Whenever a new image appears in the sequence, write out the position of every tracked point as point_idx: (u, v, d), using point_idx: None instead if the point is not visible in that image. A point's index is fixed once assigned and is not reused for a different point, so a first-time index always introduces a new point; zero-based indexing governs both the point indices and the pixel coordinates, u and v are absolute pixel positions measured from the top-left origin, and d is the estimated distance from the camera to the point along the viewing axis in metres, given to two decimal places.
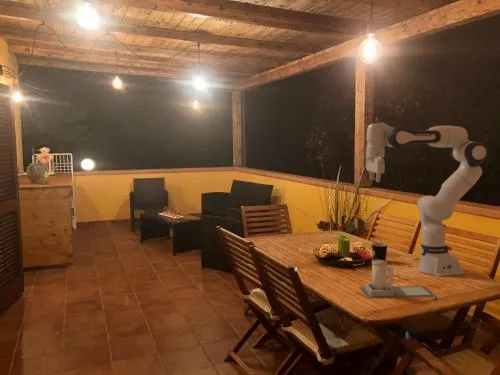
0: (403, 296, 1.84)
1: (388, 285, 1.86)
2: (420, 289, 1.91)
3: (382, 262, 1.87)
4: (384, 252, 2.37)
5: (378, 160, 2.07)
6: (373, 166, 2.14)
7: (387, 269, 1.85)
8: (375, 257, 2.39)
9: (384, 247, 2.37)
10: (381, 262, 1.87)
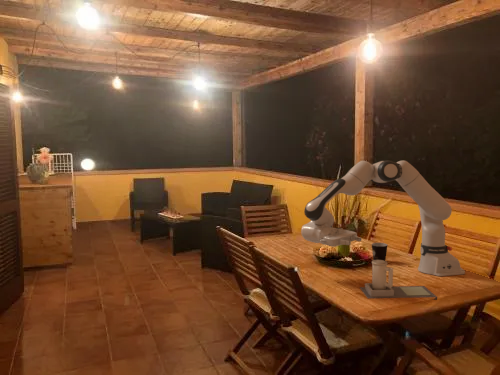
0: (403, 296, 1.84)
1: (388, 285, 1.86)
2: (420, 289, 1.91)
3: (382, 262, 1.87)
4: (384, 252, 2.37)
5: (324, 243, 1.98)
6: None
7: (387, 269, 1.85)
8: (375, 257, 2.39)
9: (384, 247, 2.37)
10: (381, 262, 1.87)
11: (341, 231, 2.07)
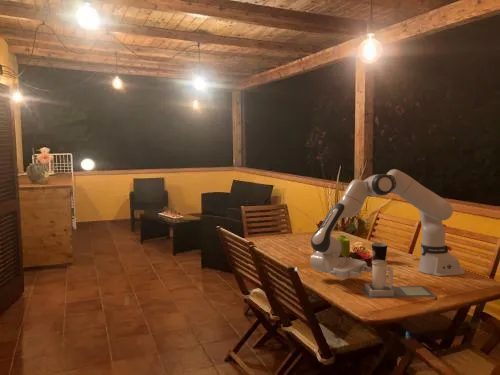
0: (403, 296, 1.84)
1: (388, 285, 1.86)
2: (420, 289, 1.91)
3: (382, 262, 1.87)
4: (384, 252, 2.37)
5: (333, 274, 1.96)
6: None
7: (387, 269, 1.85)
8: (375, 257, 2.39)
9: (384, 247, 2.37)
10: (381, 262, 1.87)
11: (351, 261, 2.05)
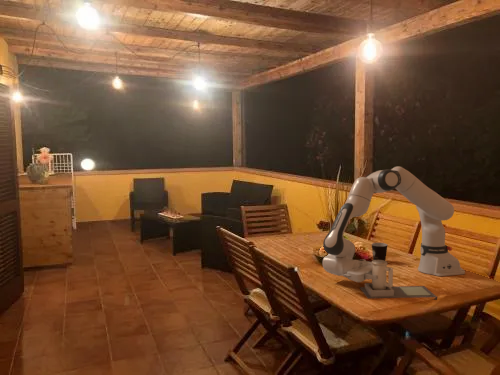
0: (403, 296, 1.84)
1: (388, 285, 1.86)
2: (420, 289, 1.91)
3: (382, 262, 1.87)
4: (384, 252, 2.37)
5: (348, 278, 1.90)
6: None
7: (387, 269, 1.85)
8: (375, 257, 2.39)
9: (384, 247, 2.37)
10: (381, 262, 1.87)
11: (365, 263, 1.99)
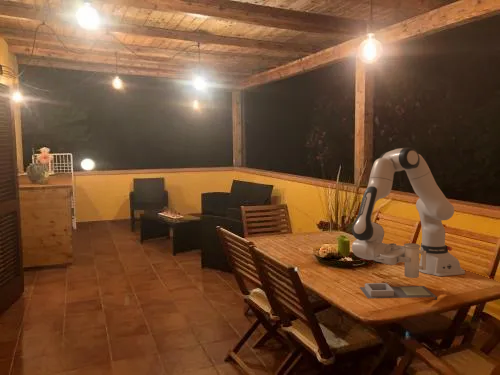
0: (403, 296, 1.84)
1: (421, 268, 1.85)
2: (420, 289, 1.91)
3: (415, 245, 1.87)
4: None
5: (380, 261, 1.89)
6: None
7: (420, 252, 1.85)
8: None
9: None
10: (414, 245, 1.86)
11: (396, 247, 1.99)
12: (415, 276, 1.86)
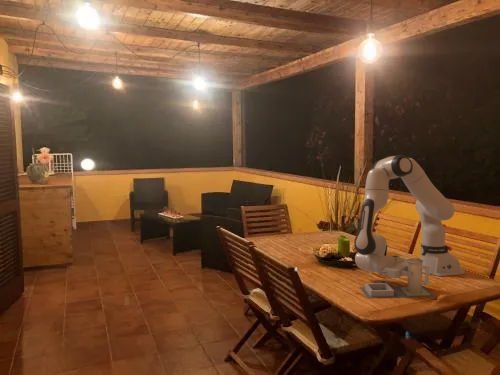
0: (403, 296, 1.84)
1: (424, 283, 1.86)
2: None
3: (418, 261, 1.88)
4: None
5: (384, 274, 1.90)
6: None
7: (423, 267, 1.85)
8: None
9: None
10: (417, 261, 1.87)
11: (399, 260, 1.99)
12: (418, 291, 1.87)
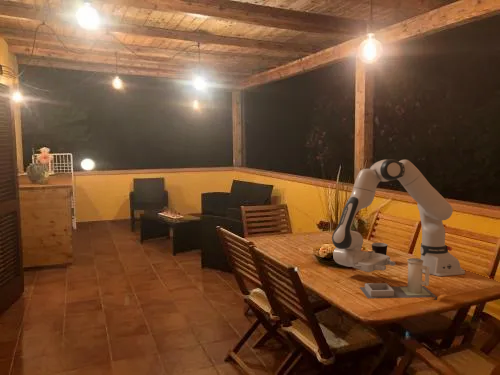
0: (403, 296, 1.84)
1: (424, 284, 1.86)
2: None
3: (418, 261, 1.87)
4: (384, 252, 2.37)
5: (358, 268, 1.99)
6: None
7: (424, 268, 1.85)
8: None
9: (384, 247, 2.37)
10: (417, 261, 1.87)
11: (374, 255, 2.08)
12: (418, 291, 1.87)
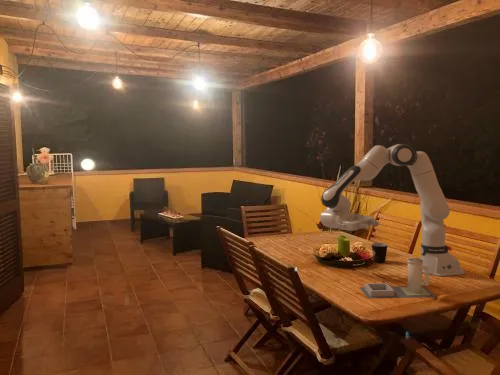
0: (403, 296, 1.84)
1: (424, 284, 1.85)
2: None
3: (418, 261, 1.87)
4: (384, 252, 2.37)
5: (343, 227, 2.07)
6: None
7: (423, 268, 1.85)
8: (375, 257, 2.39)
9: (384, 247, 2.37)
10: (417, 261, 1.87)
11: (359, 216, 2.16)
12: (418, 291, 1.87)
